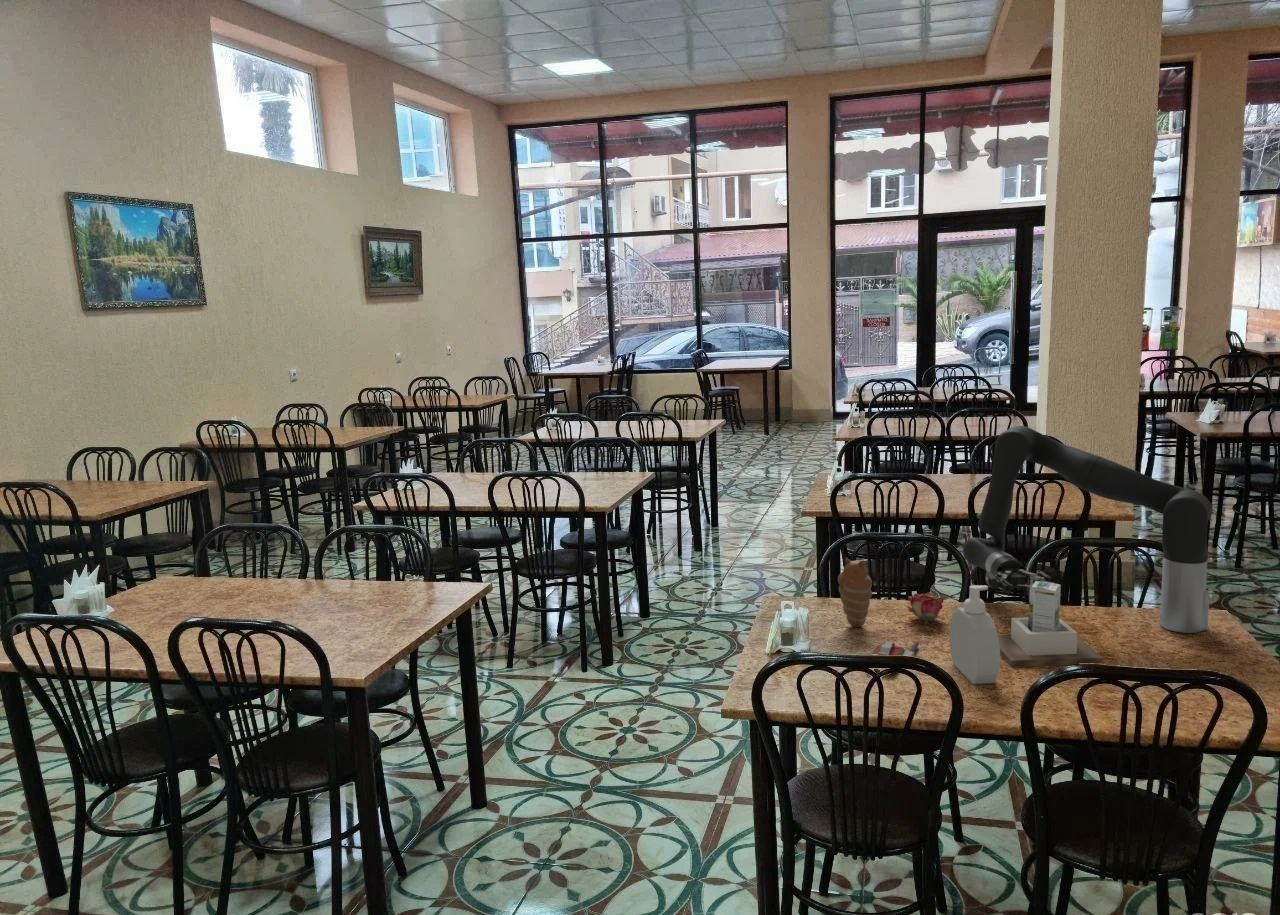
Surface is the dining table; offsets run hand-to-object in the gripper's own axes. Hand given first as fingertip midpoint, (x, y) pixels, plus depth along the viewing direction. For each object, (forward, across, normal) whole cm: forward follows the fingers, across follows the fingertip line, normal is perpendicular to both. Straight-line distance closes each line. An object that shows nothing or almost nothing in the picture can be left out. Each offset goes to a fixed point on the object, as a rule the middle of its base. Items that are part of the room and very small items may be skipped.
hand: (1028, 588), depth 224 cm
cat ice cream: (-10, -39, +12) cm, 42 cm away
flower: (-13, -21, +12) cm, 28 cm away
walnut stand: (+10, 0, +12) cm, 15 cm away
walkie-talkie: (+12, -35, +13) cm, 39 cm away
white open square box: (+10, 0, +11) cm, 14 cm away
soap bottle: (+21, -19, +12) cm, 31 cm away
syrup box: (+10, 0, +11) cm, 14 cm away
